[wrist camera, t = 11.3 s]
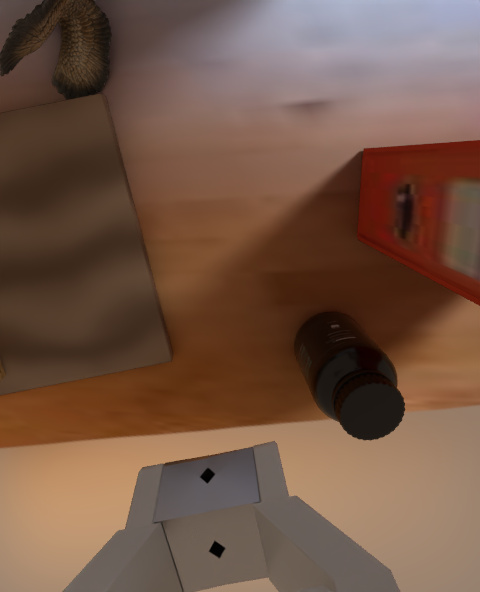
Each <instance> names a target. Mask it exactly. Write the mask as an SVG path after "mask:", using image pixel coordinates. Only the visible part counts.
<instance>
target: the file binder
mask: <svg viewBox="0 0 480 592" xmlns="http://www.w3.org/2000/svg"><path fill="white" fill-rule="evenodd" d="M363 153H364V154H363V155H362V170H361V185H360V200H359V215H358V230H357V237H358V240H360V241H362V242H363V243H365V244H367V245H369V246H371V247H373V248H374V249H376V250H378V251H380V252H382V253H384V254H386V255H387V256H389V257H391V258H393V259H395V260H397V261H398V262H400V263H402V264H404V265H406V266H408V267H409V268H411V269H413V270H415V271H417V272H419V273H420V274H422V275H424V276H426V277H428V278H430V279H432V280H433V281H435V282H437V283H439V284H441V285H443V286H444V287H446V288H448V289H450V290H452V291H454V292H455V293H457V294H459V295H461V296H463V297H465V298H466V299H468V300H470V301H472V302H474V303H476V304H478V305H479V306H480V140H476V141H463V142H449V143H435V144H422V145H408V146H394V147H381V148H367V149H364V152H363Z"/></svg>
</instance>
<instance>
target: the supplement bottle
mask: <svg viewBox="0 0 480 592" xmlns="http://www.w3.org/2000/svg"><path fill="white" fill-rule="evenodd" d="M294 350H295V355H296V358H297V361H298V363H299V366H300V368H301V370H302V373H303V375H304V377H305V380H306V382H307V384H308V386H309V389H310V391H311V393H312V396H313V398H314V400H315V402H316V404H317V405H318V407H319V408H320V410H321V411H322V412H323V413H324V414H325V415H327V416H328V417H330V418H331V419H333V420H336V421H338V422H340V424H341V425H342V427H343V429H344V430H345V431H347V433H348V434H349V435H352V436H353V437H355V438H358V439H363V440H373V439H379V438H381V437H384V436H385V435H388V434H390V432H392V431H394V430H395V428H396V427H397V426H398V425H399V423H400V422H401V421H402V417H403V416H404V411H405V408H404V406H405V403H404V398H403V397H402V395H401V393H400V391H399V390H398V389H397V373H396V370H395V367H394V365H393V363H392V362H391V360H390V359H389V358H388V356H387V355H386V354H385V353H384V352H383V351H382V350H381V349H380V348H379V346H378V345H377V344H376V343H375V342H374V341H373V340H372V339H371V338H370V337H369V336H368V334H367V333H366V332H365V331H364V330H363V329H362V328H361V327H360V326H359V325H358V324H357V323H356V322H355V321H354V320H353V319H352V318H350V317H349V316H347V315H345V314H342V313H337V312H325V313H321V314H318V315H316V316H314V317H312V318H310V319H309V320H308V321H306V322H305V323H304V324H303V325H302V327H301V328H300V329H299V331H298V333H297V335H296V339H295V344H294Z"/></svg>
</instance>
